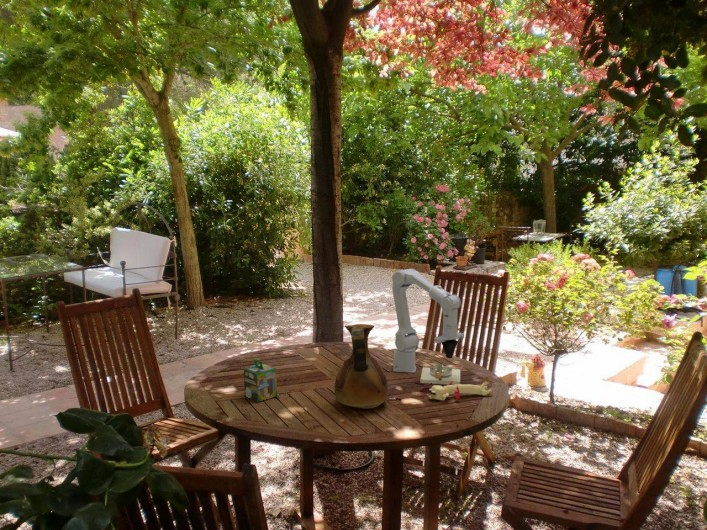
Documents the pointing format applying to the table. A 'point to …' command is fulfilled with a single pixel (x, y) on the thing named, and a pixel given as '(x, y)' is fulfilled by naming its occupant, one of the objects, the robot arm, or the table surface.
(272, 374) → the chalk box
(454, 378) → the cap plate
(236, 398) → the table surface
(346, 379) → the brown vase
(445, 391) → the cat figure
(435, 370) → the grey metal handled bowl
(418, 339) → the robot arm
